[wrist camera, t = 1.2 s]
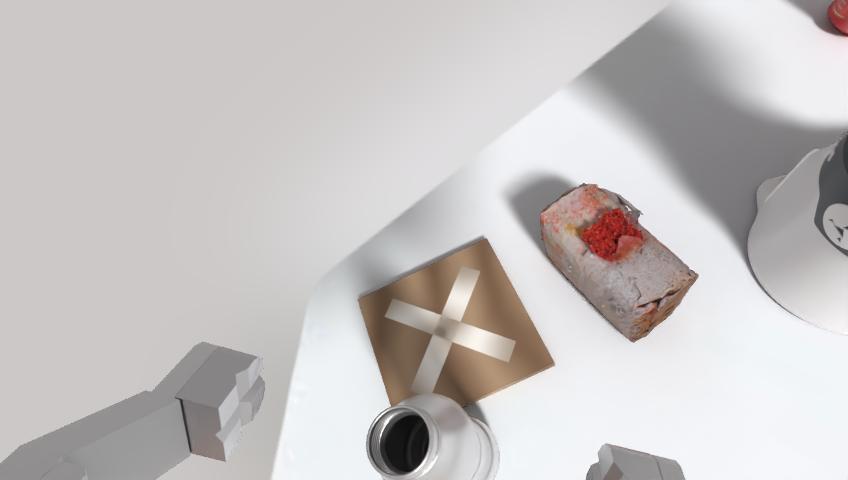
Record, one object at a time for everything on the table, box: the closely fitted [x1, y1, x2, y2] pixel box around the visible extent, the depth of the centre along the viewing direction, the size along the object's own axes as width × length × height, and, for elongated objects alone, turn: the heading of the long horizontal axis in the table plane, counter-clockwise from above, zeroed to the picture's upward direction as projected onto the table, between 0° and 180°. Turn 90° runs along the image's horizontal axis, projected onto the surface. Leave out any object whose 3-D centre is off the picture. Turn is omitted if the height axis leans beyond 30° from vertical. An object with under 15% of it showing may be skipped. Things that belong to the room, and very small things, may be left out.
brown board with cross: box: [358, 238, 555, 408], centre depth 46 cm, size 16×15×1 cm
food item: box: [540, 183, 699, 342], centre depth 40 cm, size 14×8×10 cm, turn 33°
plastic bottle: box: [366, 393, 500, 480], centre depth 32 cm, size 6×7×20 cm
